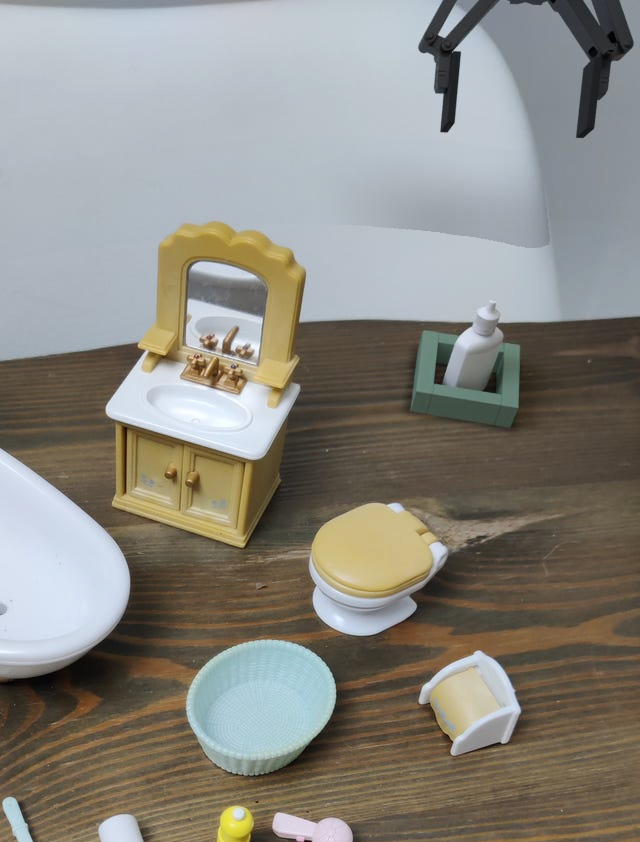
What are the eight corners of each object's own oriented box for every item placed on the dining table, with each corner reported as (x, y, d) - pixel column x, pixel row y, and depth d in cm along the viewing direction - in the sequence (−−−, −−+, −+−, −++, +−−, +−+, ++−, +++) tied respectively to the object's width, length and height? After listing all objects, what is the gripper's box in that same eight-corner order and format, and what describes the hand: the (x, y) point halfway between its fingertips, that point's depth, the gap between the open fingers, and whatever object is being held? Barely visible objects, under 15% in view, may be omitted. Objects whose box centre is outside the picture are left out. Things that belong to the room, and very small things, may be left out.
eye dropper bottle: (490, 404, 111) (524, 314, 101) (441, 405, 111) (470, 314, 101) (481, 379, 113) (513, 288, 104) (433, 379, 113) (461, 289, 103)
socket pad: (511, 369, 114) (520, 344, 112) (508, 432, 108) (518, 407, 105) (416, 354, 116) (423, 329, 113) (408, 415, 110) (416, 391, 107)
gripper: (651, -79, 97) (625, 148, 101) (400, -88, 98) (382, 138, 101) (690, -125, 90) (660, 121, 93) (417, -135, 91) (398, 111, 94)
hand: (516, 131), depth 97 cm, fingers open, 13 cm apart
